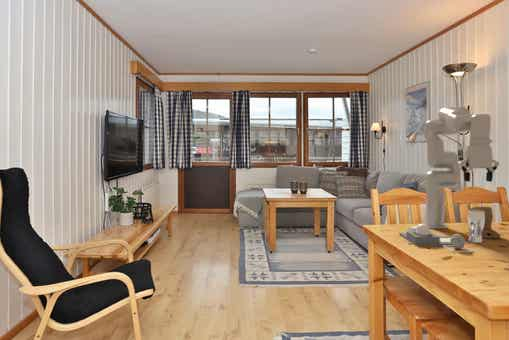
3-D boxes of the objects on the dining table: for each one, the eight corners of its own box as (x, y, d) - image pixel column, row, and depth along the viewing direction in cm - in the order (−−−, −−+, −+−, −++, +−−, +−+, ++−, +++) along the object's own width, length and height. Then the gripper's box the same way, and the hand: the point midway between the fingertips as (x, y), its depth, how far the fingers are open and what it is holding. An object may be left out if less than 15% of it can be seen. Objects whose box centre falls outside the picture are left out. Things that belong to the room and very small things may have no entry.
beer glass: (481, 240, 184) (482, 209, 183) (485, 244, 177) (487, 212, 176) (465, 239, 186) (466, 209, 184) (469, 242, 179) (470, 211, 178)
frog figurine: (447, 249, 168) (448, 233, 168) (453, 246, 173) (453, 231, 173) (462, 252, 164) (463, 236, 164) (467, 248, 169) (468, 233, 168)
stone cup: (468, 231, 202) (469, 203, 201) (494, 233, 198) (495, 205, 197) (473, 238, 188) (474, 208, 187) (501, 240, 184) (502, 209, 183)
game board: (399, 234, 195) (399, 224, 195) (440, 234, 194) (441, 225, 194) (424, 251, 164) (425, 240, 164) (474, 252, 164) (474, 240, 163)
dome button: (413, 234, 183) (414, 222, 182) (426, 234, 183) (426, 222, 182) (418, 237, 177) (419, 225, 176) (431, 237, 177) (432, 225, 176)
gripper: (493, 142, 170) (492, 180, 171) (455, 142, 170) (453, 180, 171) (504, 142, 162) (503, 182, 163) (464, 142, 162) (463, 182, 163)
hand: (478, 181), depth 167 cm, fingers open, 9 cm apart
